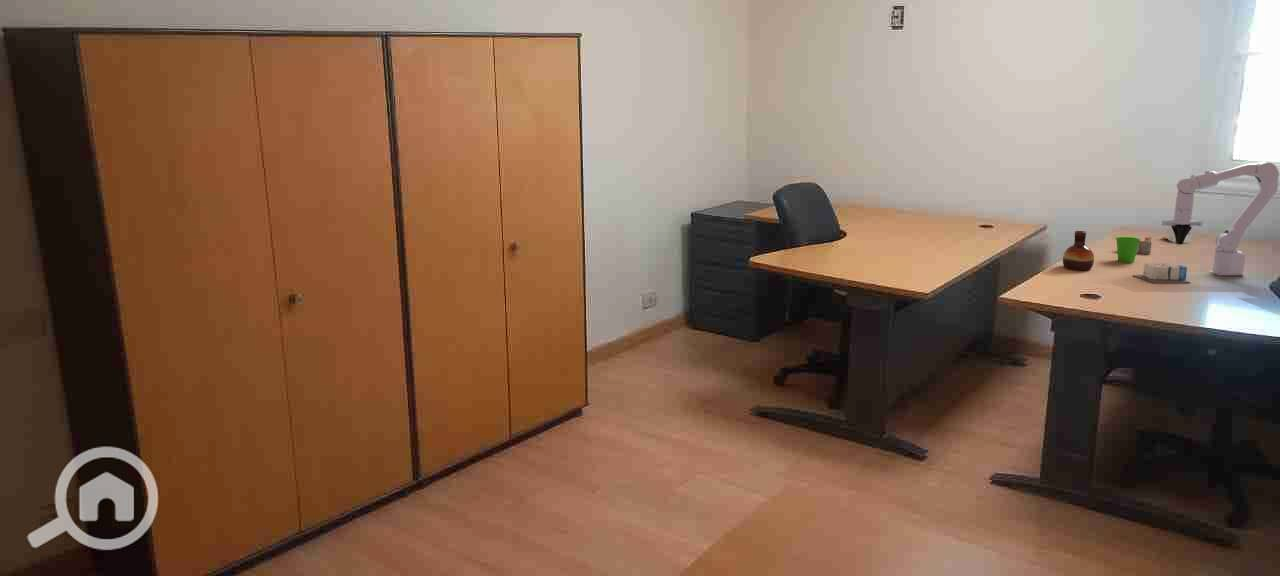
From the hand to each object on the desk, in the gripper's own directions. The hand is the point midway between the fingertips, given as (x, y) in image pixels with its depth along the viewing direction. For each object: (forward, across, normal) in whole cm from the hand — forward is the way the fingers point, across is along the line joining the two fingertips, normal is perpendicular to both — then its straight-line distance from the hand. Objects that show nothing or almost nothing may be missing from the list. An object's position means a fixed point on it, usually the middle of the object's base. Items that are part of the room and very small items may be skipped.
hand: (1179, 244), depth 352 cm
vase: (+11, +37, -2) cm, 39 cm away
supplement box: (+10, -32, -56) cm, 65 cm away
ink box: (+8, +8, +18) cm, 21 cm away
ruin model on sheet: (+11, 0, -31) cm, 33 cm away
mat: (+10, +16, +18) cm, 26 cm away
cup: (+11, +12, -14) cm, 22 cm away
